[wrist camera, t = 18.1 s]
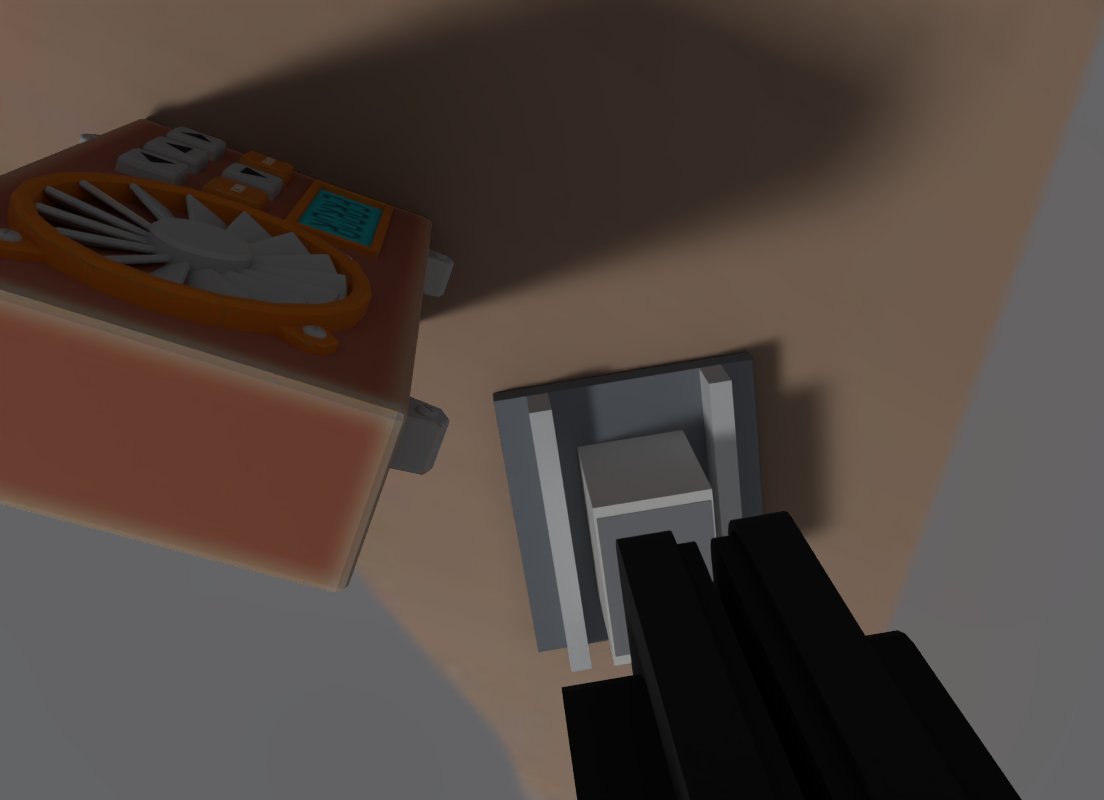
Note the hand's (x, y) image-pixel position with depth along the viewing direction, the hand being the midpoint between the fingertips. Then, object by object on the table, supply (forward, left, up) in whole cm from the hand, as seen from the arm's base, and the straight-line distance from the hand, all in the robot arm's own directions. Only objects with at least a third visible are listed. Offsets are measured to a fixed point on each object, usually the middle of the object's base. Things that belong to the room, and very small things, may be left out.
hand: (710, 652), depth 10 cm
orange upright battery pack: (+2, -11, -35) cm, 37 cm away
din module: (+18, +3, -34) cm, 39 cm away
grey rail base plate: (+18, +3, -35) cm, 40 cm away
